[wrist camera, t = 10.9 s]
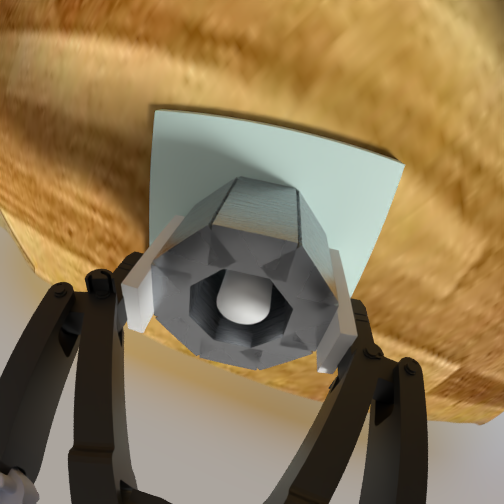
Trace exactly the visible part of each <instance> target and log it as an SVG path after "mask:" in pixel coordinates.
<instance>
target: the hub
mask: <svg viewBox="0 0 504 504" xmlns="http://www.w3.org/2000/svg"><path fill="white" fill-rule="evenodd" d="M227 269H228V270H232V271H237V272H241V273H246V274H250V275H255V276H260V277H264V278H269V279H270V280H271V281H272V282H273V286H272V294H271V303H270V310H269V313H268V315H267V316H266V317H265V318H264V319H263V320H262V321H260V322H258V323H254V324H239V323H235V322H233V321H231V320H229V319H227V318H226V317H224V316H223V315H222V314H221V312H220V311H219V309H218V307H217V296H218V293H219V290H220V288H221V285H222V282H223V279H224V276H225V273H226V270H227ZM151 274H152V293H153V307H154V315H155V316H156V319H157V320H158V321H159V322H160V323H161V324H162V325H163V326H164V327H165V328H166V329H167V330H168V331H169V332H170V333H171V334H173V335H174V336H175V337H176V338H177V339H178V340H179V341H180V342H181V343H182V344H183V345H185V346H186V347H187V348H188V349H189V350H190V351H191V352H192V353H194V354H195V355H196V356H197V355H200V358H204V359H208V360H212V361H216V362H220V363H224V364H229V365H233V366H238V367H243V368H247V369H252V370H257V368H258V369H259V370H262V369H266V368H269V367H272V366H276V365H279V364H282V363H285V362H288V361H292V360H295V359H298V358H301V357H304V356H307V355H310V354H312V353H313V351H316V349H317V347H318V345H319V344H320V342H321V340H322V338H323V336H324V334H325V332H326V330H327V328H328V326H329V325H330V323H331V321H332V319H333V317H334V315H335V313H336V311H337V309H338V307H339V304H338V303H339V301H338V295H337V289H336V283H335V278H334V272H333V267H332V261H331V256H330V251H329V246H328V241H327V236H326V233H325V231H324V230H323V228H322V226H321V225H320V223H319V221H318V220H317V218H316V217H315V215H314V213H313V212H312V210H311V208H310V207H309V205H308V204H307V202H306V201H305V199H304V197H303V196H302V194H301V193H300V191H297V192H296V188H293V187H288V186H284V185H279V184H275V183H270V182H266V181H261V180H256V179H252V178H247V177H242V176H240V177H239V179H238V178H237V177H236V178H234V179H233V180H231V181H229V182H228V183H226V184H225V185H223V186H222V187H220V188H219V189H217V190H216V191H214V192H213V193H212V194H210V195H209V196H207V197H206V198H204V199H203V200H201V201H200V202H198V203H197V204H196V205H194V207H193V208H192V209H191V210H190V212H189V213H188V214H187V215H186V217H185V218H184V219H183V221H182V222H181V223H180V224H179V226H178V227H177V228H176V230H175V231H174V232H173V234H172V235H171V236H170V238H169V239H168V240H167V242H166V243H165V244H164V246H163V247H162V248H161V250H160V251H159V252H158V254H157V255H156V257H155V258H154V259H153V262H152V263H151Z"/></svg>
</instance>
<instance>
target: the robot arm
mask: <svg viewBox="0 0 504 504" xmlns="http://www.w3.org/2000/svg"><path fill="white" fill-rule="evenodd" d="M184 218H185V217H184V216H179V215H175V216H174V217H173V219H172V220H171V221H170V222H169V223H168V225H167V226H166V227H165V228H164V229H163V231H162V232H161V233H160V234H159V235H158V237H157V238H156V239H155V240H154V242H153V243H152V244H151V245H150V247H149V248H148V249H147V250H146V252H145V253H144V254H143V253H139V252H133V253H131V254H130V255H128V256H126V258H125V259H124V260H123V261H122V263H121V264H120V265H119V266H118V268H116V270H115V271H114V272H113V273H112V272H111V271H109V270H107V269H96V270H93V271H91V272H90V273H88V274H87V275H86V277H85V282H86V286H87V291H88V292H74V290H73V286H72V285H71V284H69V283H67V282H60V283H56V284H54V285H53V286H52V287H51V288H50V289H49V290H48V292H47V293H46V295H45V296H44V298H43V299H42V301H41V303H40V304H39V306H38V308H37V309H36V311H35V312H34V314H33V316H32V317H31V319H30V321H29V323H28V324H27V326H26V328H25V330H24V331H23V333H22V335H21V337H20V339H19V341H18V343H17V344H16V346H15V349H14V350H13V352H12V354H11V356H10V358H9V360H8V362H7V365H6V367H5V369H4V371H3V373H2V375H1V377H0V504H36V502H37V501H38V500H39V494H38V492H37V490H36V488H35V486H34V482H35V481H36V478H37V476H38V473H39V471H40V467H41V464H42V460H43V456H44V452H45V448H46V444H47V440H48V436H49V433H50V429H51V425H52V421H53V419H54V415H55V412H56V409H57V406H58V403H59V399H60V396H61V394H62V390H63V388H64V385H65V382H66V379H67V377H68V374H69V371H70V368H71V366H72V363H73V361H74V358H75V356H76V353H77V351H78V348H79V353H78V361H77V371H76V382H75V397H74V445H73V447H72V448H71V449H70V450H69V453H68V471H69V483H70V494H71V502H72V504H172V503H170V502H168V501H166V500H164V499H162V498H160V497H157V496H153V495H150V494H147V493H145V492H141V491H139V490H138V489H137V484H136V480H135V476H134V473H133V470H132V466H131V460H130V452H129V443H128V434H127V424H126V409H125V391H124V331H123V326H124V325H125V323H126V321H127V323H128V328H129V329H131V330H134V331H138V332H141V333H143V332H144V330H145V328H146V327H147V325H148V323H149V321H150V319H151V317H152V315H153V313H154V307H153V293H152V274H151V263H152V262H153V259H154V258H155V257H156V255H157V254H158V252H159V251H160V250H161V248H162V247H163V246H164V244H165V243H166V242H167V240H168V239H169V238H170V236H171V235H172V234H173V232H174V231H175V230H176V228H177V227H178V226H179V224H180V223H181V222H182V221H183V219H184ZM329 251H330V256H331V261H332V267H333V272H334V278H335V283H336V289H337V295H338V301H339V303H338V304H339V307H338V309H337V311H336V313H335V315H334V317H333V319H332V321H331V323H330V325H329V326H328V328H327V330H326V332H325V334H324V336H323V338H322V340H321V342H320V344H319V345H318V347H317V372H322V373H330V374H333V373H334V371H335V370H336V368H337V367H338V376H337V377H336V378H335V380H334V381H333V382H332V384H331V385H330V387H329V389H330V391H329V393H328V395H327V397H326V399H325V401H324V403H323V405H322V407H321V409H320V411H319V413H318V415H317V417H316V419H315V421H314V423H313V425H312V426H311V428H310V430H309V432H308V434H307V436H306V438H305V439H304V441H303V443H302V445H301V446H300V448H299V450H298V452H297V454H296V455H295V457H294V459H293V460H292V462H291V463H290V465H289V467H288V469H287V470H286V472H285V473H284V475H283V476H282V478H281V480H280V481H279V483H278V484H277V486H276V487H275V489H274V490H273V492H272V493H271V495H270V496H269V497H268V499H267V500H266V501H265V502H264V503H263V504H329V502H330V500H331V498H332V496H333V494H334V492H335V490H336V488H337V486H338V483H339V481H340V479H341V477H342V475H343V473H344V471H345V469H346V466H347V464H348V462H349V459H350V457H351V455H352V452H353V450H354V448H355V445H356V442H357V440H358V437H359V435H360V432H361V430H362V427H363V424H364V421H365V418H366V415H367V413H368V410H369V407H370V422H369V434H368V444H367V454H366V462H365V469H364V476H363V483H362V489H361V495H360V500H359V504H426V493H427V478H428V431H427V413H426V400H425V390H424V381H423V373H422V369H421V366H420V365H419V363H418V362H417V361H415V360H414V359H412V358H410V357H405V358H402V359H401V360H400V361H399V362H396V361H393V360H391V359H388V358H386V357H384V354H383V352H382V350H381V348H380V347H379V346H378V345H376V344H375V343H374V340H373V336H372V332H371V327H370V323H369V319H368V317H367V311H366V308H365V306H364V305H363V303H362V302H361V301H360V300H356V299H351V298H350V296H349V291H348V287H347V282H346V278H345V274H344V270H343V266H342V261H341V257H340V254H339V250H336V249H331V248H329ZM370 404H371V406H370Z"/></svg>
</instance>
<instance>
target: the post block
mask: <svg viewBox="0 0 504 504" xmlns="http://www.w3.org/2000/svg"><path fill="white" fill-rule="evenodd" d="M404 166H405V164H403V163H402V162H400V161H399V160H396V159H393V158H391V157H388V156H385V155H382V154H379V153H376V152H373V151H370V150H367V149H364V148H361V147H358V146H355V145H352V144H348V143H345V142H341V141H338V140H334V139H331V138H327V137H324V136H320V135H316V134H312V133H308V132H304V131H300V130H296V129H291V128H287V127H282V126H278V125H273V124H268V123H263V122H258V121H252V120H247V119H241V118H235V117H228V116H221V115H214V114H207V113H199V112H190V111H180V110H168V109H160V110H155V116H154V127H153V139H152V153H151V170H150V200H149V243H150V245H151V244H152V243H153V242H154V240H155V239H156V238H157V237H158V235H159V234H160V233H161V232H162V231H163V229H164V228H165V227H166V226H167V225H168V223H169V222H170V221H171V220H172V219H173V217H174V216H175V215H179V216H184V217H186V215H187V214H188V213H189V212H190V210H191V209H192V208H193V207H194V205H196V204H197V203H198V202H200V201H201V200H203V199H204V198H206V197H207V196H209V195H210V194H212V193H213V192H214V191H216V190H217V189H219V188H220V187H222V186H223V185H225V184H226V183H228V182H229V181H231V180H233V179H234V178H236V177H237V178H238V179H239V177H240V176H242V177H247V178H252V179H256V180H261V181H266V182H270V183H275V184H279V185H284V186H288V187H293V188H296V192H297V191H300V193H301V194H302V196H303V197H304V199H305V201H306V202H307V204H308V205H309V207H310V208H311V210H312V212H313V213H314V215H315V217H316V218H317V220H318V221H319V223H320V225H321V226H322V228H323V230H324V231H325V233H326V236H327V241H328V246H329V248H331V249H336V250H339V254H340V257H341V261H342V266H343V270H344V274H345V278H346V282H347V287H348V291H349V296H350V298H351V296H352V294H353V291H354V289H355V287H356V285H357V283H358V281H359V279H360V277H361V275H362V273H363V270H364V268H365V266H366V264H367V262H368V259H369V257H370V255H371V252H372V250H373V248H374V246H375V243H376V241H377V238H378V236H379V234H380V231H381V229H382V226H383V224H384V221H385V219H386V216H387V214H388V211H389V208H390V206H391V203H392V200H393V198H394V195H395V192H396V189H397V187H398V184H399V181H400V178H401V175H402V172H403V169H404ZM272 286H273V282H272V281H271V280H270V279H269V278H264V277H260V276H255V275H250V274H246V273H241V272H237V271H232V270H228V269H227V270H226V273H225V276H224V279H223V282H222V285H221V288H220V290H219V293H218V296H217V307H218V309H219V311H220V312H221V314H222V315H223V316H224V317H226V318H227V319H229V320H231V321H233V322H235V323H239V324H254V323H258V322H260V321H262V320H263V319H264V318H265V317H266V316H267V315H268V313H269V310H270V303H271V294H272Z"/></svg>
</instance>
